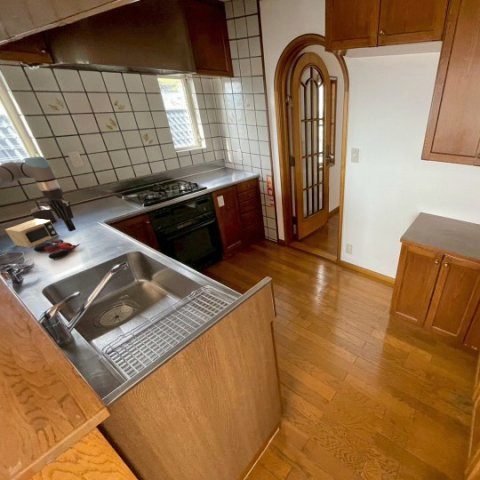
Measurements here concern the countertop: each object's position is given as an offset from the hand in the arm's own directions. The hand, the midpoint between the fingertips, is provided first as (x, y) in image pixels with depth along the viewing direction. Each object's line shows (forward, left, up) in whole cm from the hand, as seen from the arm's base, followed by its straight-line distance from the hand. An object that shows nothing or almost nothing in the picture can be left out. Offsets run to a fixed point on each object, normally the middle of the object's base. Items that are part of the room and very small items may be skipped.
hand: (72, 230), depth 144 cm
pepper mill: (-73, +32, -15) cm, 81 cm away
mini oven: (-46, +6, -15) cm, 49 cm away
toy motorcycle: (-18, 0, -15) cm, 24 cm away
